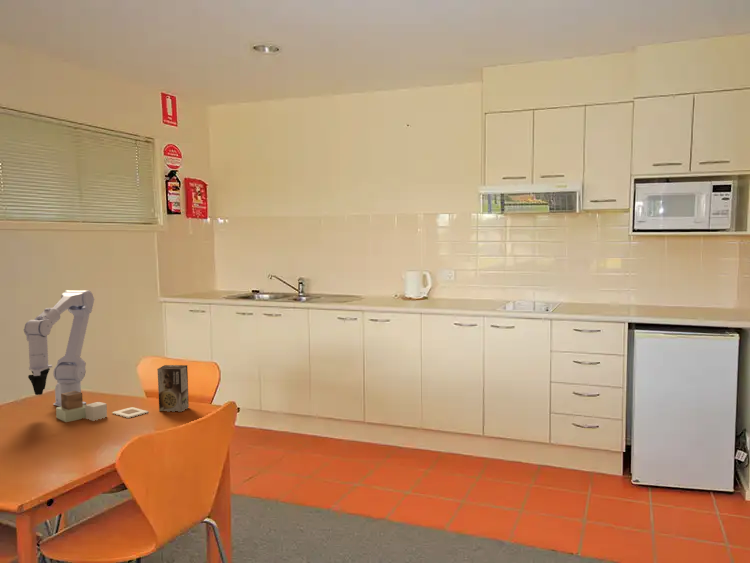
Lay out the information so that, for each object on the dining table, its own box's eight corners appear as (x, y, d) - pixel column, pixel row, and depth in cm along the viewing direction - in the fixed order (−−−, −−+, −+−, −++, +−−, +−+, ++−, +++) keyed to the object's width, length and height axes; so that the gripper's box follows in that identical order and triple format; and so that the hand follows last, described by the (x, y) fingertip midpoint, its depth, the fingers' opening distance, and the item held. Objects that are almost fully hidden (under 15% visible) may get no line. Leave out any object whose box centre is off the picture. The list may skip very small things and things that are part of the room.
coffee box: (189, 407, 222) (188, 364, 221) (182, 412, 216) (181, 368, 214) (166, 406, 223) (164, 364, 222) (158, 411, 216) (156, 368, 215)
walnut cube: (61, 407, 209) (61, 393, 209) (75, 404, 213) (75, 390, 213) (68, 409, 206) (68, 395, 206) (82, 406, 210) (82, 392, 210)
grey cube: (85, 418, 208) (85, 404, 208) (99, 415, 212) (98, 401, 212) (93, 421, 205) (93, 407, 205) (107, 417, 210) (106, 403, 209)
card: (112, 413, 214) (112, 411, 214) (132, 408, 220) (131, 406, 220) (128, 418, 208) (128, 416, 208) (148, 412, 215) (148, 411, 215)
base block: (56, 418, 209) (56, 407, 209) (79, 413, 215) (79, 402, 215) (65, 423, 204) (65, 411, 204) (89, 417, 210) (89, 406, 210)
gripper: (49, 356, 202) (51, 395, 203) (53, 349, 215) (54, 386, 216) (25, 358, 199) (27, 397, 200) (31, 350, 213) (32, 388, 214)
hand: (40, 391), depth 208 cm, fingers open, 7 cm apart
